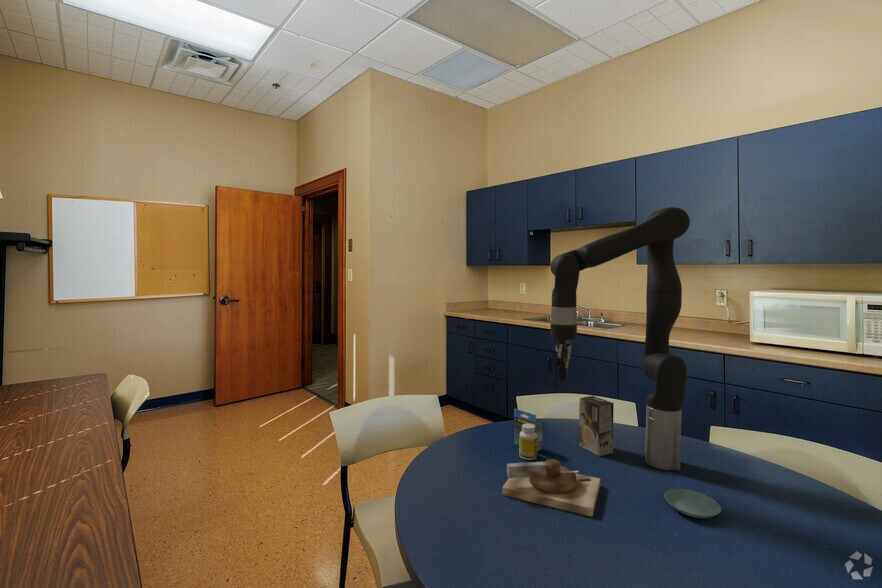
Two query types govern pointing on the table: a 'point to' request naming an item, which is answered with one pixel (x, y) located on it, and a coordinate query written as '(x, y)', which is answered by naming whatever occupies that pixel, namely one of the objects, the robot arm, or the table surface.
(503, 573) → the table surface
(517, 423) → the label tape box
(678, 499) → the saucer
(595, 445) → the coffee box
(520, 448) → the supplement bottle
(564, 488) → the dial
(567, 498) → the base plate
